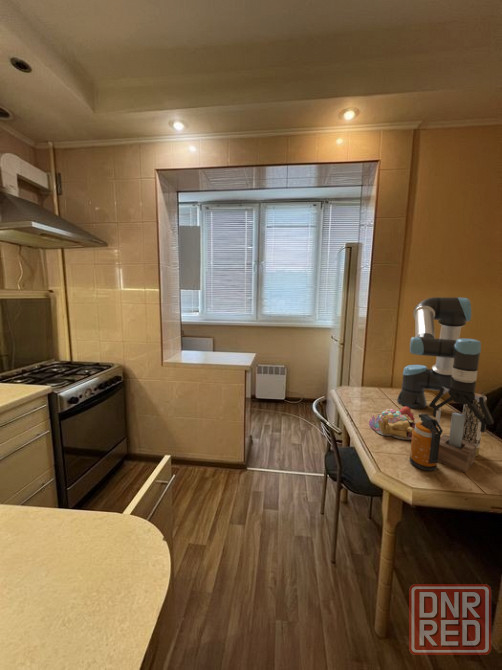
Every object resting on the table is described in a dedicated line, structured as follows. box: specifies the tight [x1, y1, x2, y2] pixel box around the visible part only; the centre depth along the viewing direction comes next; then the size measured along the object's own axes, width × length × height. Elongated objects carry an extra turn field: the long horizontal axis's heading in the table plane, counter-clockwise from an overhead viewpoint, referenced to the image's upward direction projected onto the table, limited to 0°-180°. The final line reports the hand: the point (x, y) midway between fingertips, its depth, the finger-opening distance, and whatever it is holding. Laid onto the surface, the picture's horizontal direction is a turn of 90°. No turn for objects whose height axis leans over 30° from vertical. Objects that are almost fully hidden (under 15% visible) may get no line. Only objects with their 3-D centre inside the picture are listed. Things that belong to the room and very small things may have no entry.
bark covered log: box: [461, 392, 487, 458], centre depth 115 cm, size 7×7×25 cm
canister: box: [409, 413, 444, 472], centre depth 106 cm, size 9×11×20 cm
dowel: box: [448, 412, 465, 449], centre depth 110 cm, size 4×4×16 cm
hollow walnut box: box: [438, 433, 477, 473], centre depth 111 cm, size 11×11×7 cm
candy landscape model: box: [368, 406, 417, 440], centre depth 137 cm, size 25×24×9 cm
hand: (456, 431), depth 110 cm, fingers open, 13 cm apart
